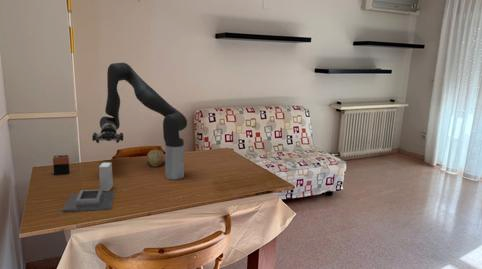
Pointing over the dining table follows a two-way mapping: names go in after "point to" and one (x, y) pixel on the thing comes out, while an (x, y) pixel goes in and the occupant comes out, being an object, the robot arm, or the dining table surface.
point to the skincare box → (105, 176)
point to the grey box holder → (89, 201)
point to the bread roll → (155, 157)
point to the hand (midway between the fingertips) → (107, 141)
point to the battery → (61, 164)
